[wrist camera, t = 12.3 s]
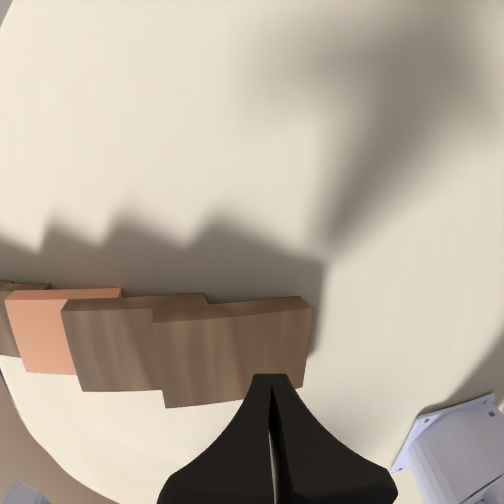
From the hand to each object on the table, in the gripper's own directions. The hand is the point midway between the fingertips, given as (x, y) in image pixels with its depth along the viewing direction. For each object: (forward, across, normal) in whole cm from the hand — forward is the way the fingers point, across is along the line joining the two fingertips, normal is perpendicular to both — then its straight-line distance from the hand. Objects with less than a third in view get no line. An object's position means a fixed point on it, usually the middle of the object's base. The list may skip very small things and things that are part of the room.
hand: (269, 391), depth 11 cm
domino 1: (+4, -2, 0) cm, 5 cm away
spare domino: (+4, +8, 0) cm, 9 cm away
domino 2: (+4, +3, 0) cm, 5 cm away
